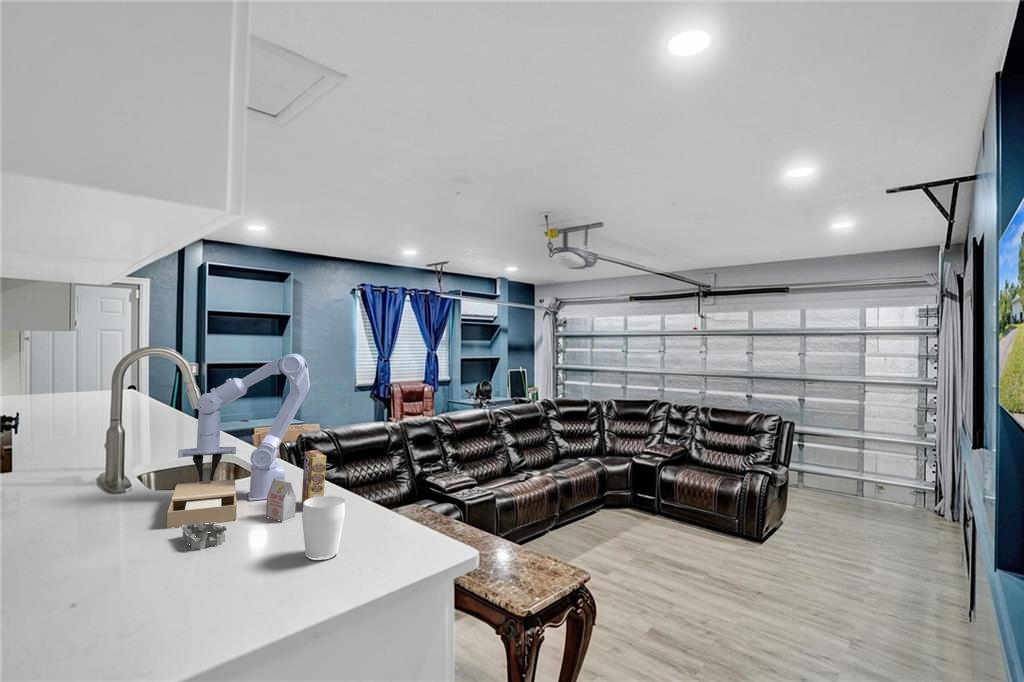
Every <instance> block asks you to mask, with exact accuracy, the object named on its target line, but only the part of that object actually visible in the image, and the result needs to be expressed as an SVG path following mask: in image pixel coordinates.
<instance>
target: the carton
mask: <svg viewBox="0 0 1024 682" xmlns="http://www.w3.org/2000/svg"><path fill="white" fill-rule="evenodd" d="M166 517H167V518H166V529H167V528H168V529H173V528H172V527H176V528H179V527H178V526H182V524H185V525H191V524H192V523H193V524H196V523H203V522H205V523H210V522H213V523H214V522H220V523H227V522H226V521H229V522H236V521H237V495H236V496H225V497H215V498H204V499H193V500H183V501H172V502H171V501H170V504H169V507H168V511H167V515H166ZM235 520H236V521H235ZM214 524H215V523H214Z"/></svg>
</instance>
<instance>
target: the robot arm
mask: <svg viewBox="0 0 1024 682" xmlns="http://www.w3.org/2000/svg"><path fill="white" fill-rule="evenodd" d="M281 374H283V375H284V376H286V378H288V381H289V383H290V387H291V389H290V391H289V393H288V395H286V398H285V400H284V402H283V404H282V405H281V407H280V410H279V411H278V413H277V415H276V416H275V419H274V421H273V422H272V424H271V426H270V428H269V430H268V431H267V433H266V434H265V436H264V438H263V440H261V443H260V444H259V445H258V446H257V448H256V449H255V450H253V452H252V453H251V455H250V463H251V466H250V483H249V492H247V498H248V501H250V502H251V501H261V500H267V495H268V492H269V490H270V488H271V485H272V482H273V479H278V480H282V481H286V479H285V477H286V474H285V473H286V470H285V469H286V468H285V465H279V464H278V463H277V461H276V459H277V458H278V455H279V450H280V449H279V447H280V445H281V442H282V440H283V438H284V437H285V435H286V433H287V430H288V429H289V427H290V426H291V424H292V422H293V420H294V418H295V416H296V414H297V412H298V410H299V408H300V407H301V405H302V403H303V401H304V400H305V397H306V395H307V394H308V391H309V390H310V388H311V387H310V386H311V383H310V375H309V364H308V363H307V361H306V360H305V357H304V356H303V355H302V354H299V353H290V354H286V355H284V356H282V357H280V358H276V359H274V360H272V361H270V362H268V363H266V364H264V365H263V366H261V367H259V368H258V369H256V370H255V371H252V372H251V373H250V374H248V375H246V376H244V377H243V378H238V377H233V378H228V379H226V380H225V382H224V383H223V384H221V385H220V386H218V387H216V388H215V387H212V388H211V389H210V392H208V393H203V394H202V395H201V396H200V397H198V399H197V401H196V403H195V404H196V409H197V410H198V418H197V435H196V437H197V438H196V447H194V448H185V449H183V448H182V449H178V452H177V453H178V454H177V455H178V456H177V458H178V459H179V458H180V459H181V458H185V457H186V458H188V457H189V458H190V457H192V461H193V463H194V465H195V467H196V470H197V473H198V477H199V482H202V480H203V469H204V456H206V457H207V456H211V477H210V481H214V477H215V473H216V471H217V468H218V466H219V464H220V462H221V460H222V458H223V455H236V454H237V446H220V443H221V442H220V441H221V440H220V439H221V437H220V436H221V410H222V408H223V407H224V406H227V405H228V404H230V403H232V402H234V401H237V399H239V398H241V397H243V396H244V395H247V391H248V389H249V388H250V387H251V386H253V385H254V384H257V383H259V382H260V381H263V380H264V379H267V378H268V377H271V376H272V375H281ZM197 407H201V408H197Z"/></svg>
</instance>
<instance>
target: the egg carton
mask: <svg viewBox="0 0 1024 682" xmlns="http://www.w3.org/2000/svg"><path fill="white" fill-rule="evenodd" d="M181 528H182V536H181V537H182V541H183V540H187V541H186V546H188V545H189V544H190V545H189V546H190V549H191V550H192V549H204V550H206V548H207V547H206V546H209V545H216V546H215V547H219V546H218V545H221V546H222V543H223V542H224V543H225V542H226V533H225V532H226V531H228V530H227V529H228V528H227V526H225V525H223V526H221V525H219V524H218V525H217V524H215V523H213V522H210V523H209V524H205V522H203V523H196V524H193V523H192V524H191V525H185V524H182V527H181ZM207 532H211V533H212V534H211V536H210V537H209V536H208V533H207ZM195 536H196V537H195ZM212 536H213V537H212ZM224 543H223V544H224ZM205 547H206V548H205ZM209 547H210V546H209Z"/></svg>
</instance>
